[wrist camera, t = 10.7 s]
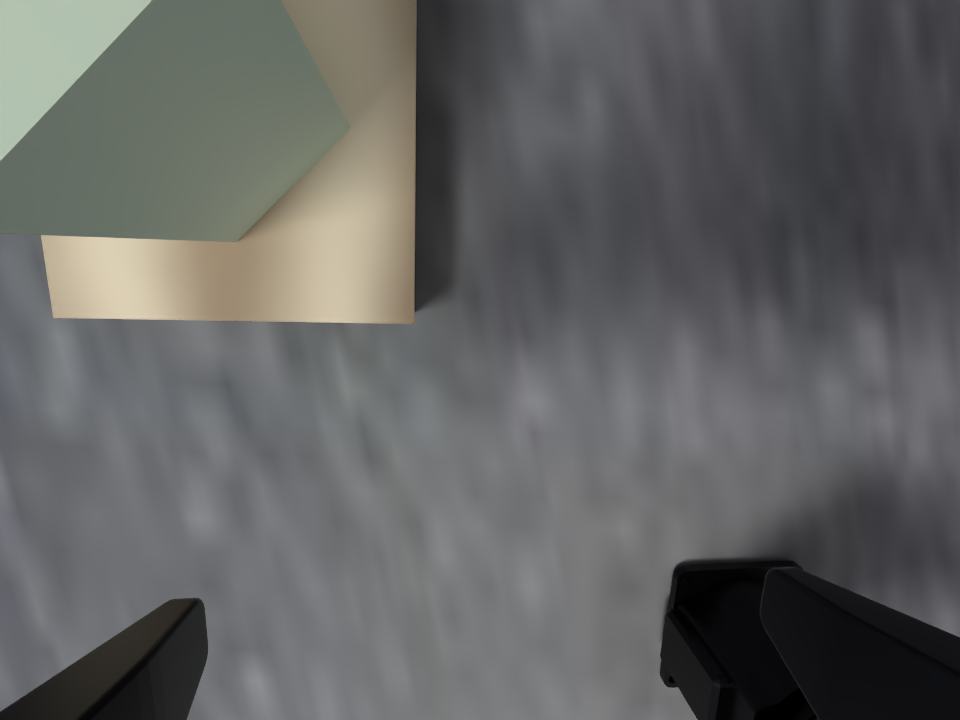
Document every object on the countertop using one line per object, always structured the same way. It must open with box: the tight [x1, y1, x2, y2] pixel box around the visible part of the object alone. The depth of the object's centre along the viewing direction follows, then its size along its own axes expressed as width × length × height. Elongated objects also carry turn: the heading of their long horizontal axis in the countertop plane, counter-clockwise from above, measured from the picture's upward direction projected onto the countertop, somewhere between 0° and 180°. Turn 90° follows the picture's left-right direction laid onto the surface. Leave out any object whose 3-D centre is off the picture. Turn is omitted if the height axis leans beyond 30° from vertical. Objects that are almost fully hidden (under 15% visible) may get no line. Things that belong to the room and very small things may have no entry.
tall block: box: [0, 0, 350, 242], centre depth 10 cm, size 5×5×10 cm
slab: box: [41, 0, 417, 324], centre depth 16 cm, size 11×12×3 cm
